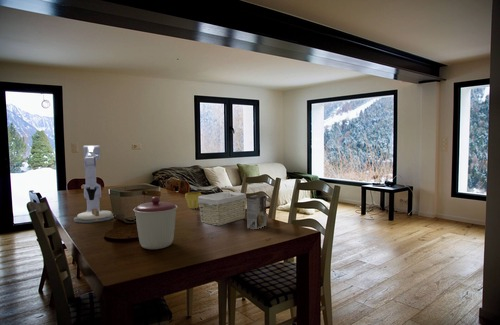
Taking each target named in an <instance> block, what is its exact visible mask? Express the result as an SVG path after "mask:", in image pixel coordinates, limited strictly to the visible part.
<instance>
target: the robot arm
mask: <svg viewBox="0 0 500 325" xmlns="http://www.w3.org/2000/svg"><path fill="white" fill-rule="evenodd" d="M82 147H83V148H82V154H83V166H84V174H85V175H84V178H85V184H83V186H82V187H84V188H83V197H84V199H86V211H85V212H89V211H92V209H94V208H97V210H98V211H99V210H100V198H102V189H101V188H102V186H101V184H99V183H97V161H98V160H100V158H101V146H100V144H97V145H95V144H94V145H85V144H84V145H83V146H82Z"/></svg>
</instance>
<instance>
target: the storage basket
mask: <svg viewBox="0 0 500 325" xmlns="http://www.w3.org/2000/svg"><path fill="white" fill-rule="evenodd" d="M198 203H199V214H200V222H201V223H203V222H204V223H203V224H208V225H211V224H212V225H211V226H215V225H217V226H218V227H219V226H223V225H227V224H230V223H233V222H237V221H239V220H244V219H245V218H246V205H247V194H246V193H244V192H243V193H242V192H238V191H237V192H235V191H223V192H221V191H220V192H217V193H210V194H206V195H201V196H199V197H198Z"/></svg>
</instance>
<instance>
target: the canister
mask: <svg viewBox="0 0 500 325" xmlns="http://www.w3.org/2000/svg"><path fill="white" fill-rule="evenodd" d="M150 201H151V202H145V203H143V202H142V204H140V205H138V206H137V207H135V208H134V209H133V211H134V212H135V216H136V220H135V222H136V228H137V234H138V236H137V237H138V240H139V245H141V247H142V248H143V249H146V250H159V249H160V250H161V249H165V248H167V247H169V246H171V245H172V244H173V241H174V237H175V228H176V215H177V209H178V208H179V207H178V205H176V204H175V203H174V202H169V201H161V199H160V197H159V196H153V197H151V199H150Z"/></svg>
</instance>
